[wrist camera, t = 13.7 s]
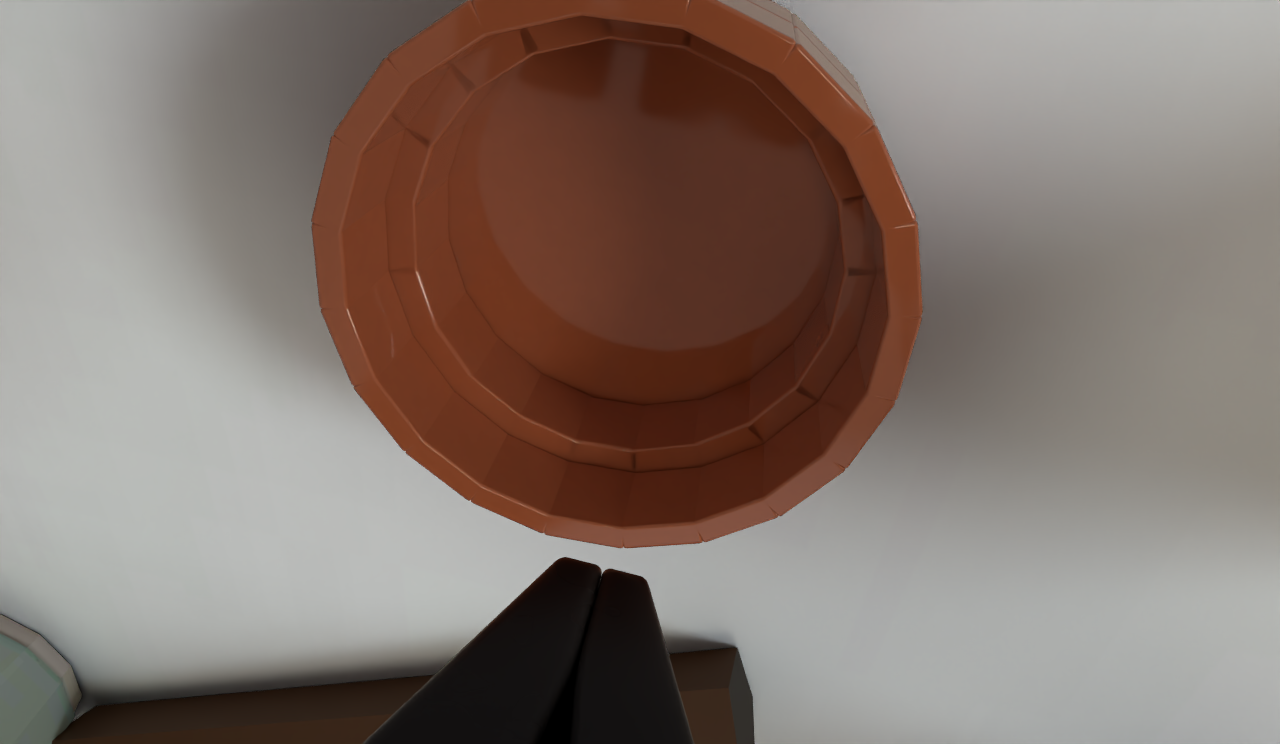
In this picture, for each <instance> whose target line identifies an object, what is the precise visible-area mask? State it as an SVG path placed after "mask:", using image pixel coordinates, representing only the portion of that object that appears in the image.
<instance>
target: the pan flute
mask: <svg viewBox="0 0 1280 744" xmlns="http://www.w3.org/2000/svg"><path fill="white" fill-rule="evenodd" d="M669 658H670V661H671V664H672V668H673V671H674V675H675V678H676V682H677V685H678V689H679V692H680V696H681V699H682V703H683V706H684V710H685V713H686V716H687V720H688V723H689V727H690V730H691V734H692V737H693V741H694V744H755V743H754V720H753V697H752V694H751V690H750V687H749V684H748V681H747V678H746V674H745V671H744V668H743V665H742V661H741V658H740V655H739V652H738V649H737V648H726V649H715V650H704V651H693V652H682V653H671V654H669ZM433 676H434V675H429V676H418V677H407V678H396V679H385V680H374V681H363V682H352V683H341V684H330V685H319V686H308V687H297V688H285V689H274V690H263V691H252V692H241V693H230V694H219V695H208V696H197V697H186V698H175V699H164V700H153V701H142V702H131V703H120V704H109V705H98V706H95V707H94V708H92V709H91V710H89V711H88V712H86V713H85V714H83V715H82V716H81V717H79V718H78V719H76V720H75V721H73V722H72V723H70V724H69V726H68V727H67V728H66V729H65V730H64V731H63V732H62V733H61V734H59V735H58V736H57V737H56V738H55V739H54V740H53V741H52V744H362V743H363V742H364V741H365V740H366V739H367V738H369V737H370V736H371V735H372V734H373V733H374V732H375V731H376V730H377V729H378V728H379V727H380V726H381V725H382V724H383V723H384V722H385V721H387V720H388V719H389V718H390V717H391V716H392V715H393V714H394V713H395V712H396V711H397V710H398V709H399V708H400V707H401V706H402V705H404V704H405V703H406V702H407V701H408V700H409V699H410V698H411V697H412V696H413V695H414V694H415V693H416V692H417V691H418V690H419V689H421V688H422V687H423V686H424V685H425V684H426V683H427V682H428V681H429V680H430V679H431V678H432V677H433Z"/></svg>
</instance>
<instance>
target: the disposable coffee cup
mask: <svg viewBox="0 0 1280 744" xmlns="http://www.w3.org/2000/svg"><path fill="white" fill-rule="evenodd" d="M81 697H82V694H81V692H80V689H79V686H78V684H77V681H76V678H75V676H74V673H73V670H72V667H71V665H70V664H69V663H68V662H67V661H66V660H65V659H64V658H63V657H62V656H61V655H60V654H59V653H58V652H57V651H56V650H55V649H54V648H53V647H52V646H51V645H50V644H49V643H48V642H47V641H46V640H45V639H44V638H43V637H42V636H41V635H39V634H37V633H35V632H33V631H31V630H30V629H28V628H26V627H24V626H22V625H20V624H18V623H16V622H14V621H12V620H10V619H8V618H6V617H5V616H3V615H1V614H0V744H52V741H53V740H54V739H55V738H56V737H57V736H58V735H59V734H61V733H62V732H63V731H64V730H65V729H66V728H67V727H68V726H69V724H70V723H72V721H73V719H74V717H75V714H74V712H75V710H76V707H77V705H78V703H79V701H80V699H81Z"/></svg>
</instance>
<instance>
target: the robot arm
mask: <svg viewBox="0 0 1280 744" xmlns="http://www.w3.org/2000/svg"><path fill="white" fill-rule="evenodd" d="M601 574H602V572H601V568H600V567H599V566H597V565H595V564H591V563H587V562H583V561H579V560H575V559H571V558H567V557H563V558H560V559H558V560H557V561H555V562H554V563H553V564H552V565H551V566H550V567H549V568H548V569H547V570H546V571H545V572H544V573H543V574H541V575H540V576H539V577H538V578H537V579H536V580H535V581H534V582H533V583H532V584H531V585H530V586H529V587H528V588H527V589H526V590H524V591H523V592H522V593H521V594H520V595H519V596H518V597H517V598H516V599H515V600H514V601H513V602H512V603H511V604H510V605H509V606H507V607H506V608H505V609H504V610H503V611H502V612H501V613H500V614H499V615H498V616H497V617H496V618H495V619H494V620H493V621H492V622H491V623H489V624H488V625H487V626H486V627H485V628H484V629H483V630H482V631H481V632H480V633H479V634H478V635H477V636H476V637H475V638H474V639H472V640H471V641H470V642H469V643H468V644H467V645H466V646H465V647H464V648H463V649H462V650H461V651H460V652H459V653H458V654H457V655H456V656H454V657H453V658H452V659H451V660H450V661H449V662H448V663H447V664H446V665H445V666H444V667H443V668H442V669H441V670H440V671H439V672H437V673H436V674H435V675H434V676H433V677H432V678H431V679H430V680H429V681H428V682H427V683H426V684H425V685H424V686H423V687H422V688H421V689H419V690H418V691H417V692H416V693H415V694H414V695H413V696H412V697H411V698H410V699H409V700H408V701H407V702H406V703H405V704H404V705H402V706H401V707H400V708H399V709H398V710H397V711H396V712H395V713H394V714H393V715H392V716H391V717H390V718H389V719H388V720H387V721H385V722H384V723H383V724H382V725H381V726H380V727H379V728H378V729H377V730H376V731H375V732H374V733H373V734H372V735H371V736H370V737H369V738H367V739H366V740H365V741H364V742H363V743H362V744H694V741H693V737H692V734H691V730H690V727H689V723H688V720H687V716H686V713H685V710H684V706H683V703H682V699H681V696H680V692H679V689H678V685H677V682H676V678H675V675H674V671H673V668H672V664H671V661H670V658H669V654H668V651H667V647H666V644H665V640H664V637H663V633H662V630H661V626H660V623H659V619H658V616H657V613H656V609H655V606H654V602H653V599H652V595H651V592H650V588H649V585H648V583H647V581H646V580H645V579H644V578H643V577H641V576H637V575H634V574H630V573H626V572H622V571H618V570H614V569H607V570H605V571H604V572H603V574H602V576H601Z"/></svg>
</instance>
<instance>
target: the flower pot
mask: <svg viewBox="0 0 1280 744" xmlns="http://www.w3.org/2000/svg"><path fill="white" fill-rule="evenodd" d="M311 221H312V236H313V246H314V256H315V266H316V276H317V286H318V296H319V306H320V307H321V308H322V309H321V313H322V315H323V318H324V320H325V322H326V325H327V327H328V330H329V332H330V334H331V337H332V339H333V341H334V344H335V346H336V348H337V351H338V353H339V356H340V358H341V360H342V363H343V365H344V367H345V370H346V372H347V374H348V377H349V379H350V381H351V384H352V385H354V389H355V391H356V392H357V393H358V394H359V396H360V397H361V398H362V399H363V401H364V402H365V403H366V405H367V406H368V407H369V408H370V410H371V411H372V412H373V413H374V415H375V416H376V417H377V418H378V420H379V421H380V422H381V423H382V425H383V426H384V427H385V428H386V430H387V431H388V432H389V434H390V435H391V436H392V437H393V439H394V440H395V441H396V442H397V444H398V445H399V446H400V447H401V449H402V450H403V451H406V454H408V455H409V456H410V457H411V458H413V459H414V460H415V461H417V462H418V463H419V464H421V465H422V466H423V467H425V468H426V469H427V470H429V471H430V472H431V473H432V474H434V475H435V476H436V477H438V478H439V479H440V480H442V481H443V482H444V483H446V484H447V485H448V486H449V487H451V488H452V489H453V490H455V491H456V492H457V493H459V494H460V495H461V496H463V497H464V498H465V499H467V500H468V501H470V500H471V502H472V503H474V504H476V505H478V506H481V507H483V508H485V509H488V510H490V511H492V512H494V513H497V514H499V515H501V516H504V517H506V518H508V519H510V520H513V521H515V522H517V523H519V524H522V525H524V526H526V527H529V528H531V529H533V530H535V531H538V532H540V533H544V532H545V534H546V535H549V536H555V537H561V538H566V539H572V540H577V541H583V542H589V543H594V544H600V545H605V546H611V547H617V548H623V546H624V548H637V547H652V546H666V545H681V544H696V543H702V542H703V541H704V542H708V541H711V540H713V539H716V538H719V537H722V536H725V535H728V534H731V533H734V532H737V531H740V530H743V529H746V528H749V527H751V526H754V525H757V524H760V523H763V522H766V521H769V520H772V519H775V518H777V517H778V516H782V515H783V514H785V513H786V512H787V511H789V510H790V509H792V508H793V507H795V506H796V505H797V504H799V503H800V502H802V501H803V500H804V499H806V498H807V497H809V496H810V495H811V494H813V493H814V492H816V491H817V490H819V489H820V488H821V487H823V486H824V485H826V484H827V483H828V482H830V481H831V480H833V479H834V478H835V477H837V476H838V475H840V474H841V473H843V472H844V471H845V468H847V467H848V466H849V465H850V464H851V462H852V461H853V460H854V458H855V457H856V456H857V454H858V453H859V452H860V450H861V449H862V447H863V446H864V445H865V443H866V442H867V441H868V439H869V438H870V437H871V435H872V434H873V433H874V431H875V430H876V429H877V427H878V426H879V425H880V423H881V422H882V421H883V419H884V418H885V417H886V415H887V414H888V413H889V411H890V410H891V408H892V407H893V406H894V404H895V401H896V400H897V398H898V396H899V393H900V389H901V386H902V383H903V380H904V376H905V373H906V370H907V367H908V363H909V360H910V357H911V354H912V350H913V347H914V344H915V341H916V337H917V334H918V331H919V328H920V324H921V321H922V317H921V316H922V313H923V305H922V287H921V269H920V251H919V234H918V223H917V221H916V215H915V212H914V210H913V208H912V205H911V203H910V201H909V199H908V196H907V194H906V192H905V189H904V187H903V185H902V182H901V180H900V178H899V176H898V173H897V171H896V169H895V166H894V164H893V162H892V160H891V157H890V155H889V153H888V150H887V148H886V146H885V143H884V141H883V139H882V137H881V134H880V132H879V130H878V127H877V125H876V123H875V121H874V119H873V116H872V114H871V112H870V110H869V108H868V105H867V103H866V101H865V99H864V96H863V94H862V92H861V90H860V88H859V85H858V83H857V82H856V81H855V79H854V77H853V75H852V74H851V73H850V72H849V71H848V70H847V69H846V68H845V66H844V65H843V64H842V63H841V62H840V61H839V60H838V59H837V58H836V57H835V56H834V55H833V54H832V53H831V52H830V50H829V49H828V48H827V47H826V46H825V45H824V44H823V43H822V42H821V41H820V40H819V39H818V38H817V37H816V36H815V35H814V33H813V32H812V31H811V30H810V29H809V28H808V27H807V26H806V25H805V24H804V23H803V22H802V21H801V20H800V19H799V17H798V16H797V15H796V14H792V13H791V12H790V10H788V9H786V8H784V7H782V6H780V5H778V4H777V3H775V2H773V1H771V0H467V1H465V2H464V3H462V4H461V5H459V6H458V7H456V8H455V9H453V10H452V11H450V12H449V13H447V14H446V15H444V16H443V17H442V18H440V19H439V20H437V21H436V22H434V23H433V24H431V25H430V26H428V27H427V28H425V29H424V30H422V31H421V32H419V33H418V34H417V35H415V36H414V37H412V38H411V39H409V40H408V41H406V42H405V43H403V44H402V45H400V46H399V47H397V48H396V49H394V50H393V51H392V52H390V53H389V54H388V56H387V57H386V58H384V59H383V60H382V62H381V63H380V65H379V66H378V68H377V69H376V71H375V72H374V73H373V75H372V76H371V78H370V79H369V81H368V82H367V84H366V85H365V87H364V88H363V90H362V91H361V93H360V94H359V96H358V97H357V98H356V100H355V101H354V103H353V104H352V106H351V107H350V109H349V110H348V112H347V113H346V115H345V116H344V118H343V119H342V121H341V122H340V123H339V125H338V126H337V128H336V129H335V131H334V135H333V136H332V137H331V140H330V144H329V148H328V152H327V157H326V161H325V165H324V169H323V173H322V177H321V182H320V186H319V190H318V194H317V198H316V203H315V207H314V211H313V215H312V219H311Z"/></svg>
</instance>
